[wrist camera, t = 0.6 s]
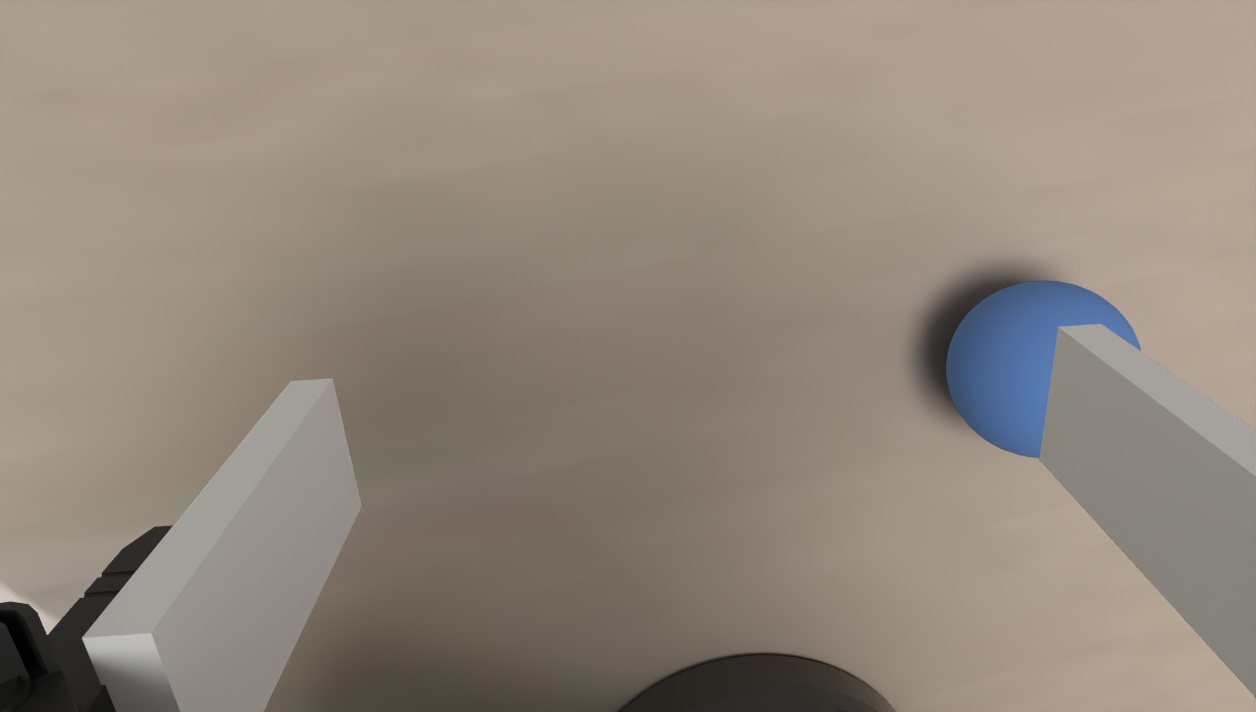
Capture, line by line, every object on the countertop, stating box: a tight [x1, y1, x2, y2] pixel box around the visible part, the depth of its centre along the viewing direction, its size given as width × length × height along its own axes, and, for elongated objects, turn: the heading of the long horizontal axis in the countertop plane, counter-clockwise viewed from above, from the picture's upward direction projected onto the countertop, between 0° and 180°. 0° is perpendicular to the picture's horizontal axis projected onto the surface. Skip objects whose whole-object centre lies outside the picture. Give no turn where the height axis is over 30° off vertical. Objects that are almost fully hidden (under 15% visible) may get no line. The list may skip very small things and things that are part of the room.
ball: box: [946, 281, 1142, 458], centre depth 29 cm, size 6×6×6 cm
